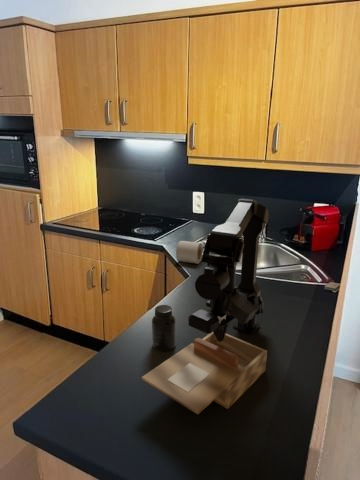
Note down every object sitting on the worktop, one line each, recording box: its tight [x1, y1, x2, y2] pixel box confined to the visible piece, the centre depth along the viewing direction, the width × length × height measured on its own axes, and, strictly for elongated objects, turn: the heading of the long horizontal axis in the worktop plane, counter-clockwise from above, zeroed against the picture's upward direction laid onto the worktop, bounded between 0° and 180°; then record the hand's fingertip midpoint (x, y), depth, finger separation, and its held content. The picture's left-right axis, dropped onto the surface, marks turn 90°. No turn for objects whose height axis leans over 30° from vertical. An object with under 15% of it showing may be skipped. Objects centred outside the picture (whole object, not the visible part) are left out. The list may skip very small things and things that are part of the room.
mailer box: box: [202, 332, 268, 410], centre depth 91 cm, size 18×16×6 cm
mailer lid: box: [141, 337, 245, 415], centre depth 81 cm, size 18×16×3 cm
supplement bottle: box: [151, 304, 177, 352], centre depth 102 cm, size 7×7×12 cm
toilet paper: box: [175, 240, 204, 265], centre depth 171 cm, size 10×10×10 cm
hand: (220, 340), depth 88 cm, fingers closed
